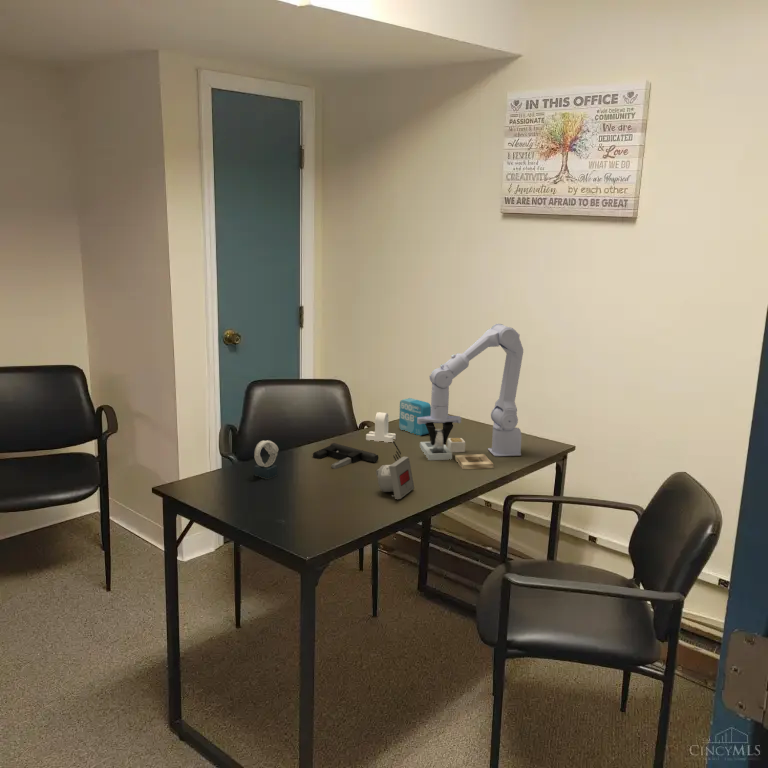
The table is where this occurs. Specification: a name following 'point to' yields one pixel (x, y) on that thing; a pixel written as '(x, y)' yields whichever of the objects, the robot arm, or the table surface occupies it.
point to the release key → (456, 440)
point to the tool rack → (428, 451)
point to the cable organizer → (381, 429)
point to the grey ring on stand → (267, 468)
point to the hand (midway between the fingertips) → (438, 444)
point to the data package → (413, 415)
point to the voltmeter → (396, 477)
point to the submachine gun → (344, 455)
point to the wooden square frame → (482, 463)
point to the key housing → (456, 446)
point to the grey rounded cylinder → (438, 441)
